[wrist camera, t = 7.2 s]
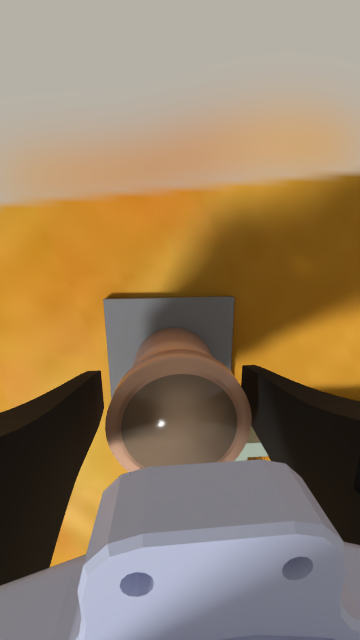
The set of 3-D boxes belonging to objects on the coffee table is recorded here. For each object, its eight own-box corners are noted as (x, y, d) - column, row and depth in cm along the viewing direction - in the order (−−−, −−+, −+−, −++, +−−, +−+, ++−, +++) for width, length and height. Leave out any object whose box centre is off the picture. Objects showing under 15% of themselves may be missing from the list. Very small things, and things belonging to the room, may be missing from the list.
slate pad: (232, 296, 15) (234, 297, 14) (227, 406, 16) (229, 411, 16) (105, 298, 14) (103, 299, 14) (114, 412, 16) (113, 416, 15)
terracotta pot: (232, 341, 15) (277, 391, 9) (194, 414, 16) (213, 502, 10) (149, 306, 14) (139, 335, 8) (115, 386, 15) (83, 464, 9)
